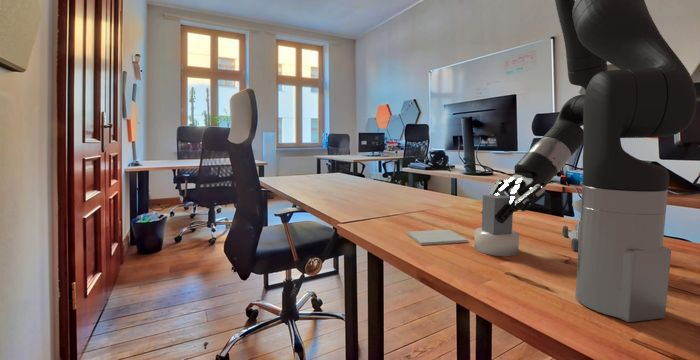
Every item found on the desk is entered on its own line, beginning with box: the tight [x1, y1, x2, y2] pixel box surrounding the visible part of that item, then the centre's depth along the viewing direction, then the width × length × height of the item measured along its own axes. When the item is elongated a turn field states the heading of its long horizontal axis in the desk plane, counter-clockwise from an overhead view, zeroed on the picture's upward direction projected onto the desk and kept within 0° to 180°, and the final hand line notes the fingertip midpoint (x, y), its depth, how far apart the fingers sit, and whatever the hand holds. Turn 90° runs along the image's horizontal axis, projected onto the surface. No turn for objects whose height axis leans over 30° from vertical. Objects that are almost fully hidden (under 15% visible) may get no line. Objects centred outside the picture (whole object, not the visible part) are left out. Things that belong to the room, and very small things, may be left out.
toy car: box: [561, 199, 582, 252], centre depth 77 cm, size 18×10×12 cm
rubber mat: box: [405, 228, 469, 246], centre depth 83 cm, size 10×12×1 cm
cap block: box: [481, 194, 514, 235], centre depth 73 cm, size 4×4×8 cm
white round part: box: [473, 227, 520, 257], centre depth 74 cm, size 9×9×4 cm
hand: (491, 217), depth 73 cm, fingers closed on cap block, 4 cm apart
